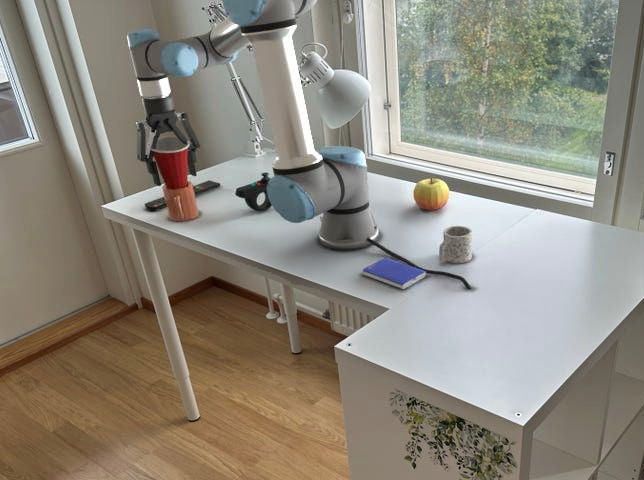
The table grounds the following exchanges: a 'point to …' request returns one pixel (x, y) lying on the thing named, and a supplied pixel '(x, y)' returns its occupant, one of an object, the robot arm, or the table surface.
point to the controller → (255, 193)
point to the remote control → (197, 190)
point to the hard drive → (394, 273)
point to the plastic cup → (172, 161)
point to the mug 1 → (181, 202)
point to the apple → (431, 194)
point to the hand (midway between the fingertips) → (175, 179)
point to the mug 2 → (456, 245)
